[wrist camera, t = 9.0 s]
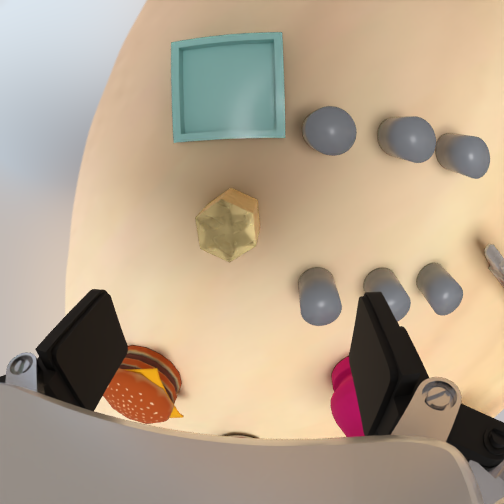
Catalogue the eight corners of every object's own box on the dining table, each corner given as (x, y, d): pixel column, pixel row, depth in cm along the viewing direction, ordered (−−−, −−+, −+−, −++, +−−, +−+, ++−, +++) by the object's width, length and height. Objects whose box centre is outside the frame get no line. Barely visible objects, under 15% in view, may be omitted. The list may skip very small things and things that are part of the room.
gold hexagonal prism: (206, 189, 23) (192, 201, 20) (256, 185, 23) (251, 196, 19) (214, 243, 25) (202, 263, 21) (261, 240, 24) (257, 261, 21)
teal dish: (177, 47, 18) (171, 42, 17) (282, 38, 18) (282, 32, 16) (180, 141, 22) (173, 142, 20) (284, 137, 21) (285, 137, 20)
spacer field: (301, 109, 20) (306, 105, 16) (464, 131, 19) (491, 134, 15) (297, 298, 26) (299, 325, 23) (438, 296, 25) (455, 318, 21)
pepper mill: (313, 376, 30) (320, 548, 12) (362, 338, 28) (405, 526, 9) (354, 398, 32) (374, 545, 13) (399, 364, 29) (445, 519, 11)
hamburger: (165, 341, 30) (144, 384, 24) (193, 396, 34) (180, 437, 28) (101, 342, 32) (77, 378, 26) (133, 393, 35) (116, 428, 29)
